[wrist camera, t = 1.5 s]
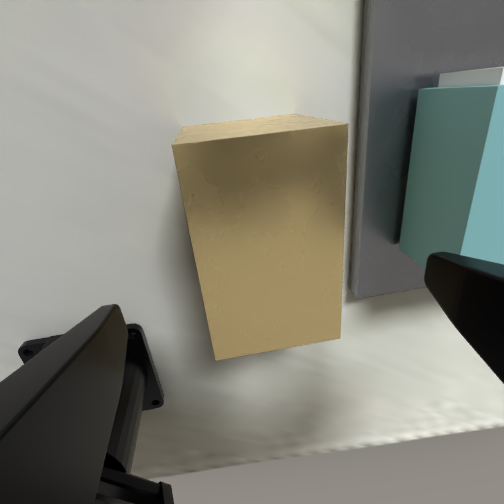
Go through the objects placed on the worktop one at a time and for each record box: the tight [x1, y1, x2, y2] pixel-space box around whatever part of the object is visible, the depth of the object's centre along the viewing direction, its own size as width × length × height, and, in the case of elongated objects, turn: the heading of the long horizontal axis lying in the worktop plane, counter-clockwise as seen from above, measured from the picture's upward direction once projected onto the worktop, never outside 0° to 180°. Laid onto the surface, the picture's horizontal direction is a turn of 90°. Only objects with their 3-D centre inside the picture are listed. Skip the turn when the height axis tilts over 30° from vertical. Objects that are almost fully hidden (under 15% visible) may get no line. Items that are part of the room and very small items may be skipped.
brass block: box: [172, 114, 348, 361], centre depth 13 cm, size 8×5×6 cm, turn 6°
